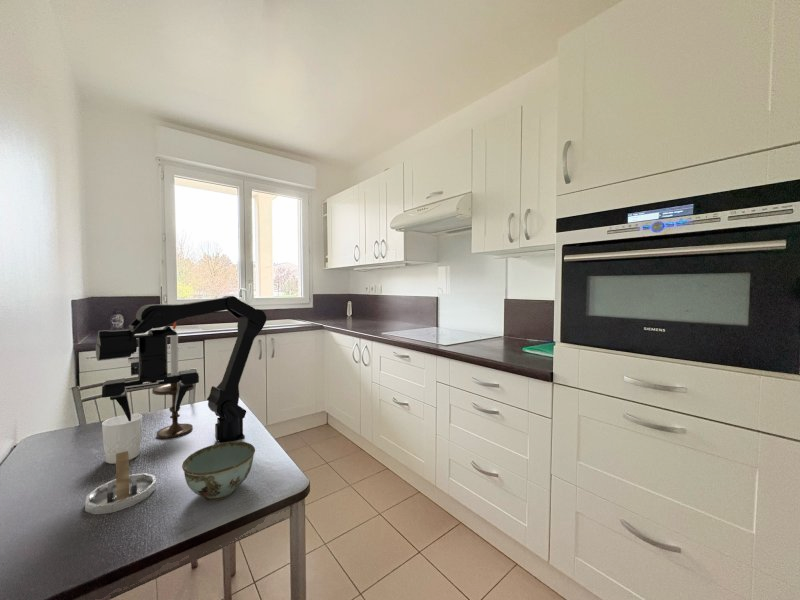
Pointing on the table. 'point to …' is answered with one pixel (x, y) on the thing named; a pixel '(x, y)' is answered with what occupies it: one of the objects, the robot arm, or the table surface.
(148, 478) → the tin
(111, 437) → the white cup
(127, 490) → the wooden plank
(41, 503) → the table surface
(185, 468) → the bowl
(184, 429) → the candlestick
